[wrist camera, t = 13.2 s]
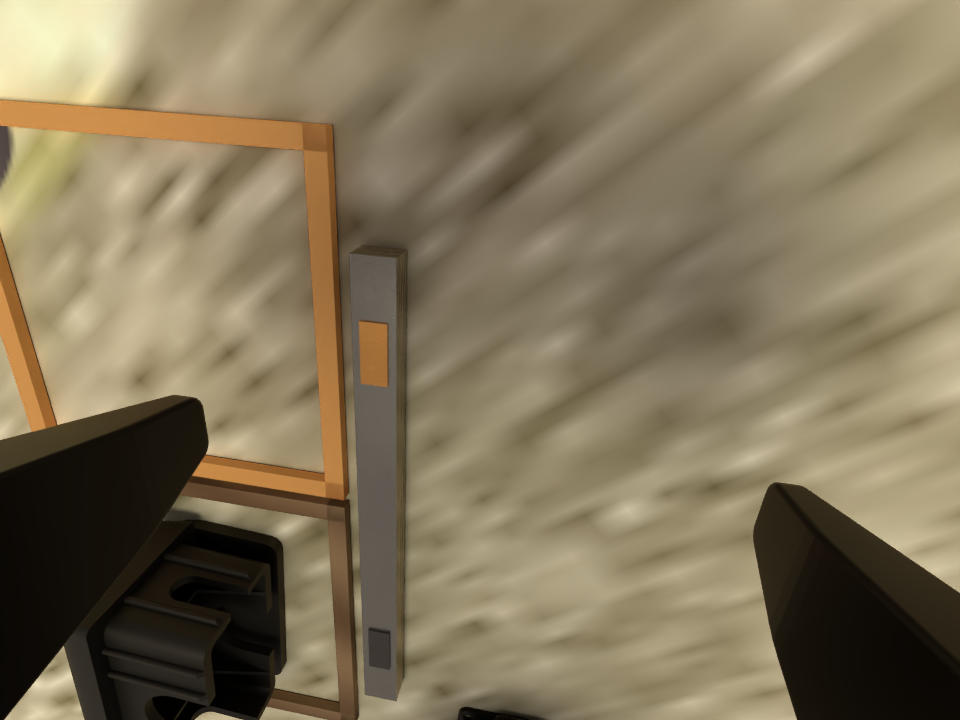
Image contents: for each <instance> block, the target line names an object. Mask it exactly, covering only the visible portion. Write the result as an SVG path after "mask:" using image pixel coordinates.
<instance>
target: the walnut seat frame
mask: <svg viewBox="0 0 960 720" xmlns="http://www.w3.org/2000/svg"><path fill="white" fill-rule="evenodd" d="M180 495H184V496H190V497H196V498H202V499H208V500H213V501H219V502H225V503H231V504H237V505H243V506H249V507H255V508H261V509H267V510H273V511H279V512H284V513H290V514H296V515H302V516H308V517H314V518H320V519H326V520H328V533H329V549H330V564H331V579H332V594H333V610H334V625H335V640H336V656H337V671H338V686H339V701H340V703H338V702H333V701H328V700H324V699H319V698H314V697H309V696H305V695H300V694H295V693H291V692H286V691H281V690H276V689H274V691H273V694H272V696H271V698H270V700H269V702H268V704H267V707H272V708H276V709H281V710H286V711H290V712H295V713H299V714H304V715H309V716H313V717H318V718H323V719H327V720H357V719H358V716H359V715H358V693H357V670H356V648H355V625H354V603H353V580H352V557H351V535H350V512H349V500H339V499H332V498H326V497H320V496H314V495H308V494H302V493H296V492H290V491H284V490H277V489H271V488H265V487H259V486H253V485H247V484H241V483H235V482H229V481H223V480H216V479H210V478H204V477H198V476H191V478H190V479H189V481H188V483H187V484H186V486H185V487H184V489H183V490H182V492H181V493H180Z"/></svg>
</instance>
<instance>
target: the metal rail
mask: <svg viewBox="0 0 960 720" xmlns="http://www.w3.org/2000/svg"><path fill="white" fill-rule="evenodd" d="M349 262H350V290H351V318H352V346H353V374H354V402H355V430H356V458H357V485H358V513H359V541H360V569H361V597H362V625H363V653H364V681H365V695H369V696H374V697H379V698H383V699H388V700H393V701H397V698H398V694H399V691H400V688H401V685H402V682H403V673H404V550H405V427H406V303H407V250H401V249H391V248H382V247H372V246H361V247H359V248H357V249H356V250H354V251H352V252H350V253H349Z"/></svg>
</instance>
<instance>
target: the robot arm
mask: <svg viewBox="0 0 960 720" xmlns="http://www.w3.org/2000/svg"><path fill="white" fill-rule="evenodd" d="M208 443H209V440H208V434H207V428H206V422H205V416H204V409H203V405H202V403H201V402H200V400H198V399H197V398H194V397H187V396H180V395H171V396H167V397H163V398H159V399H156V400H152V401H148V402H144V403H140V404H137V405H133V406H129V407H125V408H121V409H117V410H114V411H110V412H106V413H102V414H98V415H95V416H91V417H87V418H83V419H79V420H76V421H72V422H68V423H64V424H60V425H57V426H53V427H49V428H45V429H41V430H37V431H34V432H30V433H26V434H22V435H18V436H15V437H11V438H7V439H3V440H0V720H4V719H5V718H6V717H7V716H8V714H9V713H10V712H11V711H12V709H13V708H14V707H15V706H16V704H17V703H18V702H19V701H20V699H21V698H22V697H23V696H24V694H25V693H26V692H27V691H28V689H29V688H30V687H31V686H32V684H33V683H34V682H35V681H36V679H37V678H38V677H39V676H40V674H41V673H42V672H43V671H44V669H45V668H46V667H47V666H48V664H49V663H50V662H51V661H52V660H53V658H54V657H55V656H56V655H57V653H58V652H59V651H60V650H61V648H62V647H63V646H64V645H65V643H66V642H67V641H68V640H69V638H70V637H71V636H72V635H73V633H74V632H75V631H76V630H77V628H78V627H79V626H80V625H81V623H82V622H83V621H84V620H85V618H86V617H87V616H88V615H89V613H90V612H91V611H92V610H93V608H94V607H95V606H96V605H97V603H98V602H99V601H100V600H101V598H102V597H103V596H104V595H105V593H106V592H107V591H108V590H109V588H110V587H111V586H112V585H113V584H114V582H115V581H116V580H117V579H118V577H119V576H120V575H121V574H122V572H123V571H124V570H125V569H126V567H127V566H128V565H129V564H130V562H131V561H132V560H133V559H134V557H135V556H136V555H137V554H138V552H139V551H140V550H141V549H142V547H143V546H144V545H145V544H146V542H147V541H148V540H149V538H150V537H151V536H152V535H153V533H154V532H155V531H156V529H157V528H158V526H159V525H160V523H161V522H162V520H163V519H164V518H165V516H166V515H167V513H168V512H169V510H170V508H171V507H172V505H173V504H174V502H175V501H176V499H177V498H178V496H179V495H180V493H181V492H182V490H183V489H184V487H185V486H186V484H187V483H188V481H189V479H190V478H191V476H192V475H193V473H194V472H195V470H196V469H197V467H198V466H199V464H200V463H201V461H202V460H203V458H204V456H205V455H206V452H207V449H208ZM753 542H754V547H755V553H756V558H757V563H758V568H759V574H760V579H761V584H762V589H763V594H764V600H765V605H766V610H767V615H768V621H769V626H770V630H771V635H772V639H773V643H774V646H775V650H776V653H777V657H778V660H779V663H780V667H781V670H782V673H783V676H784V679H785V682H786V686H787V689H788V692H789V695H790V698H791V702H792V705H793V708H794V711H795V714H796V718H797V720H960V593H959V592H958V591H956V590H955V589H953V588H952V587H950V586H949V585H947V584H946V583H944V582H943V581H941V580H940V579H939V578H937V577H936V576H934V575H933V574H931V573H930V572H928V571H927V570H925V569H924V568H922V567H921V566H919V565H918V564H917V563H915V562H914V561H912V560H911V559H909V558H908V557H906V556H905V555H903V554H902V553H900V552H899V551H897V550H896V549H895V548H893V547H892V546H890V545H889V544H887V543H886V542H884V541H883V540H881V539H880V538H878V537H877V536H875V535H874V534H873V533H871V532H870V531H868V530H867V529H865V528H864V527H862V526H861V525H859V524H858V523H856V522H855V521H853V520H852V519H851V518H849V517H848V516H846V515H845V514H843V513H842V512H840V511H839V510H837V509H836V508H834V507H833V506H831V505H830V504H828V503H827V502H826V501H824V500H823V499H821V498H820V497H818V496H817V495H815V494H814V493H812V492H811V491H809V490H808V489H806V488H805V487H803V486H800V485H793V484H786V483H779V482H775V483H773V484H771V485H770V486H769V487H768V489H767V491H766V494H765V497H764V499H763V502H762V505H761V508H760V511H759V514H758V517H757V520H756V523H755V526H754V531H753ZM465 714H466V715H470V716H471V717H467V716H465ZM458 720H528V719H523V718H518V717H513V716H509V715H504V714H499V713H494V712H489V711H484V710H480V709H475V708H470V707H463V708H461V709H460V710H459V713H458Z"/></svg>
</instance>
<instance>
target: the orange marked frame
mask: <svg viewBox="0 0 960 720" xmlns="http://www.w3.org/2000/svg"><path fill="white" fill-rule="evenodd" d="M0 125H1V126H13V127H25V128H38V129H50V130H62V131H74V132H86V133H99V134H111V135H123V136H135V137H147V138H160V139H172V140H184V141H196V142H208V143H221V144H233V145H245V146H257V147H269V148H281V149H294V150H303V152H304V167H305V182H306V198H307V213H308V228H309V243H310V259H311V274H312V289H313V305H314V320H315V335H316V350H317V366H318V381H319V396H320V411H321V427H322V442H323V457H324V472H325V474H320V473H314V472H308V471H302V470H295V469H289V468H283V467H276V466H270V465H264V464H257V463H251V462H245V461H238V460H232V459H226V458H219V457H213V456H207V455H205V456H204V458H203V460H202V461H201V463H200V464H199V466H198V467H197V469H196V470H195V472H194V473H193V475H192V476H198V477H204V478H210V479H216V480H223V481H229V482H235V483H241V484H247V485H253V486H259V487H265V488H271V489H277V490H284V491H290V492H296V493H302V494H308V495H314V496H320V497H326V498H332V499H339V500H345V498H346V497H347V495H348V493H349V490H348V467H347V445H346V422H345V399H344V377H343V354H342V332H341V309H340V287H339V264H338V241H337V219H336V196H335V174H334V151H333V129H332V125H329V124H316V123H303V122H289V121H276V120H263V119H250V118H236V117H223V116H210V115H197V114H183V113H170V112H157V111H143V110H130V109H117V108H104V107H90V106H77V105H64V104H51V103H37V102H24V101H11V100H0ZM0 334H1V337H2V340H3V343H4V346H5V349H6V352H7V355H8V359H9V362H10V365H11V368H12V371H13V374H14V377H15V380H16V384H17V387H18V390H19V393H20V396H21V399H22V402H23V405H24V408H25V412H26V415H27V418H28V421H29V424H30V427H31V430H32V432H34V431H37V430H41V429H45V428H49V427H53V426H57V425H56V422H55V419H54V415H53V412H52V409H51V405H50V402H49V398H48V395H47V392H46V388H45V385H44V382H43V378H42V375H41V372H40V368H39V365H38V361H37V358H36V355H35V351H34V348H33V345H32V341H31V338H30V335H29V331H28V328H27V325H26V321H25V318H24V314H23V311H22V308H21V304H20V301H19V298H18V294H17V291H16V288H15V284H14V281H13V277H12V274H11V271H10V267H9V264H8V261H7V257H6V254H5V251H4V247H3V244H2V240H1V237H0Z"/></svg>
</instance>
